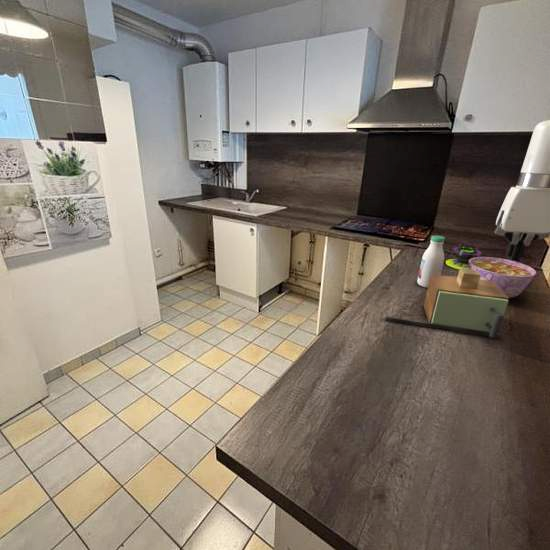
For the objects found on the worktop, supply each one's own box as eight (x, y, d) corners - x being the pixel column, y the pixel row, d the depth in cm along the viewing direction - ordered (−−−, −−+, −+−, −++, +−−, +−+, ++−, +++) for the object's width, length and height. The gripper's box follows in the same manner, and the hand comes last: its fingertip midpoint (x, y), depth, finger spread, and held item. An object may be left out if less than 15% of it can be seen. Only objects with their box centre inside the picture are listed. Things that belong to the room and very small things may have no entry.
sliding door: (495, 333, 86) (507, 299, 81) (504, 346, 80) (517, 310, 75) (431, 323, 90) (439, 290, 86) (435, 335, 84) (443, 301, 80)
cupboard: (482, 314, 96) (493, 281, 92) (498, 338, 84) (512, 301, 79) (384, 300, 105) (389, 269, 100) (385, 320, 93) (391, 286, 88)
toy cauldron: (489, 267, 136) (496, 245, 131) (468, 273, 129) (475, 249, 125) (458, 257, 148) (463, 236, 144) (438, 262, 142) (443, 240, 138)
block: (472, 282, 90) (476, 269, 89) (476, 288, 86) (481, 275, 85) (456, 281, 92) (459, 267, 90) (459, 286, 88) (463, 273, 86)
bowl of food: (466, 301, 105) (475, 271, 100) (457, 280, 122) (464, 254, 118) (534, 311, 98) (547, 280, 94) (514, 288, 115) (524, 260, 111)
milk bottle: (441, 285, 117) (453, 237, 109) (431, 290, 113) (443, 240, 105) (423, 279, 123) (433, 233, 115) (412, 283, 119) (422, 235, 111)
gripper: (570, 181, 66) (541, 257, 73) (493, 179, 70) (473, 251, 77) (591, 184, 60) (557, 268, 67) (506, 182, 64) (482, 260, 71)
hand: (512, 259), depth 72 cm, fingers closed
